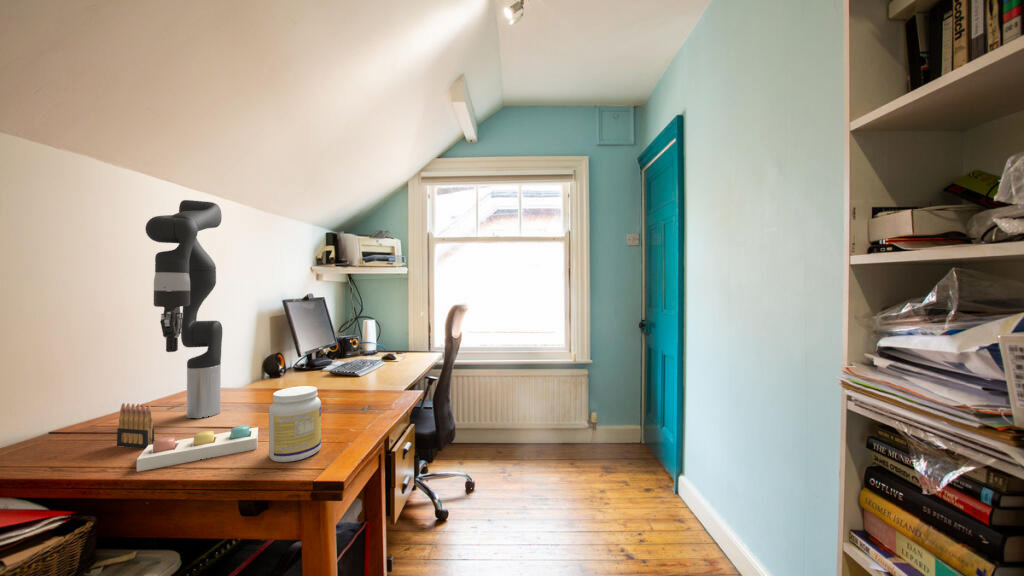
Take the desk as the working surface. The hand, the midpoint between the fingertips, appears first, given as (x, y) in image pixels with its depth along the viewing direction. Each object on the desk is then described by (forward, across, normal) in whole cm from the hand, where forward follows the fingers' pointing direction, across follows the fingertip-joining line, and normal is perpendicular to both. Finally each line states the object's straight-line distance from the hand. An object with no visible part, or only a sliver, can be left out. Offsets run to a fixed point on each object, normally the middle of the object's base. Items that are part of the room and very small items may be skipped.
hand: (171, 351), depth 103 cm
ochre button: (+26, +8, +8) cm, 28 cm away
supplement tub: (+27, +22, +29) cm, 45 cm away
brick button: (+26, +8, 0) cm, 27 cm away
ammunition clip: (+27, -8, -9) cm, 30 cm away
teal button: (+26, +8, +16) cm, 32 cm away
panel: (+27, +8, +8) cm, 29 cm away
